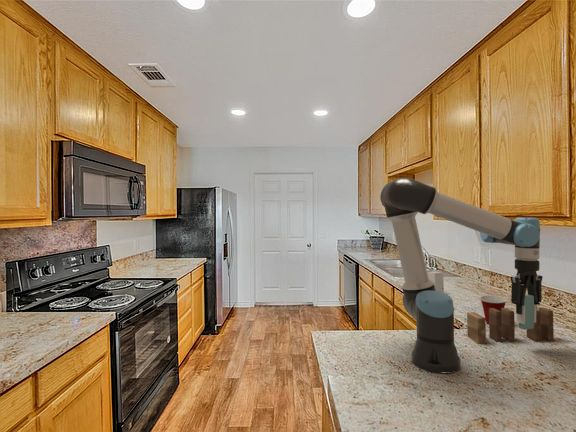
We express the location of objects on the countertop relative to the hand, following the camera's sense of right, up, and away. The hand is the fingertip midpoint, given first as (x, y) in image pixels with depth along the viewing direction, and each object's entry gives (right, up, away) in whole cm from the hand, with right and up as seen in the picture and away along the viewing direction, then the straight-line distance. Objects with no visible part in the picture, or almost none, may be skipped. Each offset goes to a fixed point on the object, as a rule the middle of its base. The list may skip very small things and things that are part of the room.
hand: (526, 322), depth 125 cm
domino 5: (+15, -10, +10) cm, 20 cm away
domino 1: (-5, -10, +10) cm, 15 cm away
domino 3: (0, -2, 0) cm, 2 cm away
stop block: (-13, -10, +10) cm, 19 cm away
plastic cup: (+6, -10, +29) cm, 31 cm away
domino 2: (0, -10, +10) cm, 14 cm away
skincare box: (+3, -10, +83) cm, 84 cm away
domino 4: (+10, -10, +10) cm, 17 cm away
